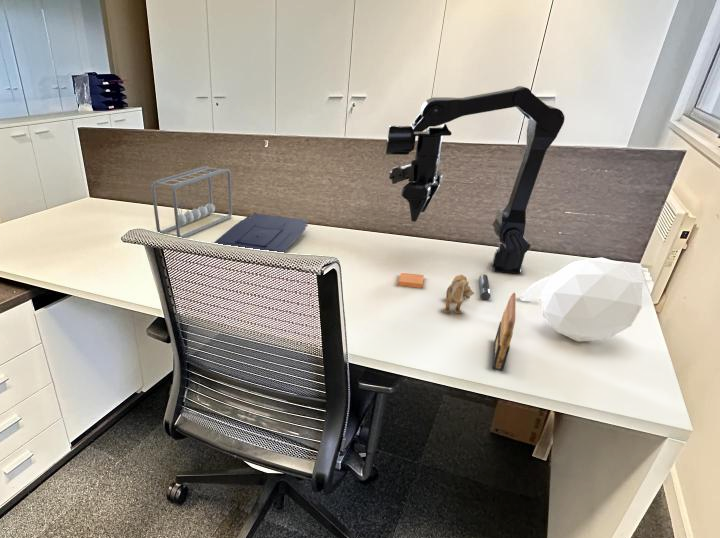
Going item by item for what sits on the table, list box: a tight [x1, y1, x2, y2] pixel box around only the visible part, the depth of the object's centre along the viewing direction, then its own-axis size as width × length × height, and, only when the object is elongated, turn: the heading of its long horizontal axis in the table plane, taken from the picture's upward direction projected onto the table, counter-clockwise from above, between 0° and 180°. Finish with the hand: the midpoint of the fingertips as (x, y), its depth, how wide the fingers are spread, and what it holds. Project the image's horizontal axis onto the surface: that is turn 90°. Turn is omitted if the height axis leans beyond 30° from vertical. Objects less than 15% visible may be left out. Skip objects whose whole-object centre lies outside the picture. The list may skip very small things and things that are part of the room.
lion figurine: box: [443, 274, 475, 314], centre depth 114 cm, size 15×5×9 cm, turn 162°
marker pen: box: [478, 273, 492, 301], centre depth 122 cm, size 2×13×2 cm
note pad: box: [397, 272, 425, 289], centre depth 128 cm, size 6×6×1 cm
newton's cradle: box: [150, 165, 233, 239], centre depth 170 cm, size 30×10×18 cm, turn 144°
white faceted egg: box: [519, 257, 643, 342], centre depth 104 cm, size 16×22×28 cm
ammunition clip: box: [491, 292, 516, 371], centre depth 94 cm, size 11×2×12 cm, turn 155°
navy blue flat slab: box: [213, 212, 310, 253], centre depth 158 cm, size 24×30×4 cm
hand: (418, 216), depth 131 cm, fingers open, 9 cm apart
